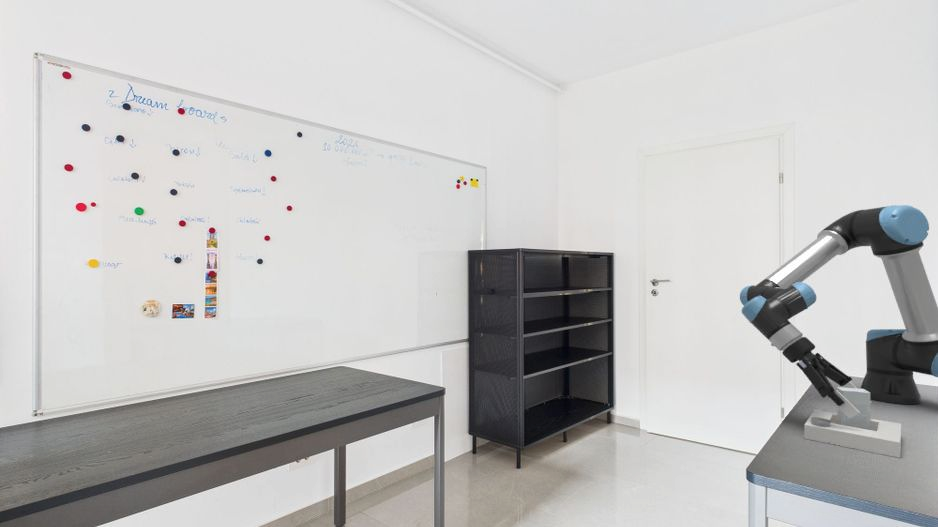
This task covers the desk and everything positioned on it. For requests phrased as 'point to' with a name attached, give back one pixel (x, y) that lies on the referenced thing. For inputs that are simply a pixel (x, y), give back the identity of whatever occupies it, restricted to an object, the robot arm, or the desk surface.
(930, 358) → the robot arm
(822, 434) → the housing
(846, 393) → the skincare box
